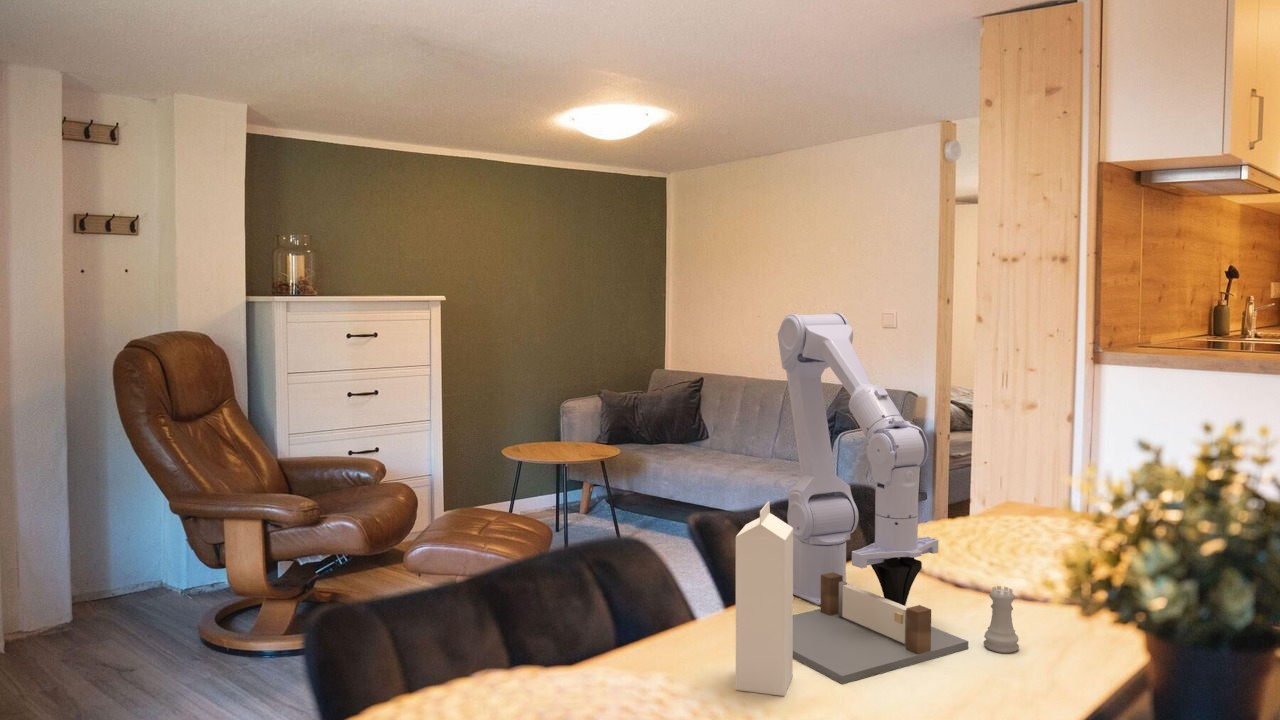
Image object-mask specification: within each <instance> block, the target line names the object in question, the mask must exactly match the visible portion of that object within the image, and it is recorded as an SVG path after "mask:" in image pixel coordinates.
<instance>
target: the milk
mask: <svg viewBox="0 0 1280 720" xmlns="http://www.w3.org/2000/svg"><path fill="white" fill-rule="evenodd" d="M770 502H771V501H769V500H768V501H767V502H766V503H765V504H764V506H763V507H762V509H760V510H759V517H758V518H756V519H754V520H752V521H750V522H748V523H746V524H745V525H744V526H743V528H741V530H740V531H739V532H738V533H737V535H736V536H735V690H736V691H741V692H749V693H757V694H765V695H774V696H779V697H780V696H782V697H785V696H786V693H787V692H788V689H789V686H790V683H791V681H792V679H793V675H794V674H793V672H794V671H793V665H794V664H793V662H794V660H793V659H794V658H793V615H794V594H793V536H794V535H793V528H792V527H791V526H789V525H788V523H786V522H785V521H783V520H782V519H780V518H779V517H777V516H775V515H774V514H773V513H771V512H770V510H771V508H770V506H771V504H770Z"/></svg>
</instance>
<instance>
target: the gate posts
mask: <svg viewBox="0 0 1280 720" xmlns="http://www.w3.org/2000/svg"><path fill="white" fill-rule="evenodd" d="M842 581H843V576H842V575H839V574H837V573H834V572H832V573H827V574H823V575H821V605H820V609H821V612H822V613H824V614H826V615H829V616H832V615H836V614H838V609H839V582H842ZM931 627H932V609H931V608H928V607H926V606H924V605H920V604H918V605H915V606H910V607H909V608H906V650H908V651H910V652H913V653H915V654H921V653H925V652H928V651H931Z"/></svg>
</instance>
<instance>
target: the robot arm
mask: <svg viewBox="0 0 1280 720" xmlns="http://www.w3.org/2000/svg"><path fill="white" fill-rule="evenodd" d="M849 322H850V321H849V320H848V319H847V317H846V316H845V314H843V313H840V312H834V313H825V314H824V313H822V314H821V313H820V314H819V313H818V314H816V313H815V314H796V313H789V314H787V315H786V316H784V318H783V320H782V322H781V324H780V327H779V330H778V332H777V339H778V342H777V343H778V348H779V354H780V362H781V367H782V369H783V370H785V372H786V379H787V380H786V381H787V385H788V392H789V393H788V394H789V399H790V400H789V401H790V406H791V413H792V419H793V421H792V422H793V428H794V434H795V441H796V448H797V455H798V463H799V468H800V469H799V470H800V477H801V478H800V479H799V481H797V482H796V484H795V485H794V486H793V487H792V488H791V489H790V490H789V491H788V493H787V499H788V508H787V515H786V516H787V524H788V525H789V526H791V527H792V528H793V596H797V597H799V598H801V599H803V600H806V601H808V602H810V603H812V604H815V605H818V606H821V575H823V574H827V573H832V572H834V573H837V574H839V575H842V576H843V582H847V541H850V540H851V534H852V533H854V532H855V530H856V529H857V528H858V527H857V526H858V523H859V510H858V507H857V505H856V503H855V501H854V498H853V495H852V491H851V485H850V484H849V483H847V482H846V481H844V480H842V478H840V477H839V476H838V475H836V471H835V464H834V457H833V450H832V443H831V438H830V431H829V423H828V417H827V412H826V411H827V410H826V404H825V397H824V390H823V385H822V375H823V373H824V372H825V370H826V369H828V368H830V369H831V370H832V372H833V373H834V375H835V376H836V378H837V380H839V381H840V383H841V384H842V386H843V387H844V388H845V390H846V391H847V393H848V394H849V395H850V399H849V402H848V409H849V411H850V412H851V414H852V415H853V418H854V419H855V421H856V423H857V425H858V426H859V428H860V430H861V431H862V433H863V434H864V436H865V438H866V440H867V441H868V444H867V445H868V446H867V445H866V449H865V450H866V456H867V459H868V461H869V463H870V467H871V477H872V481H873V482H875V491H874V492H875V493H874V495H875V496H874V497H875V500H874V501H875V503H874V504H875V508H874V509H875V511H874V542H873V543H870V544H869V545H866V546H864V547H862V548H859V549H856V550H852V551H851V566H854V567H856V568H859V569H866V568H867V567H868V566H871V568H872V570H873V572H874V574H875V575H876V578H877V580H878V582H879V584H880V587H881V590H882V594H883V598H886V599H888V600H891V601H894V602H896V603H899V604H901V605H904V606H907V601H908V597H909V594H910V590H911V588H912V586H913V584H914V582H915V580H916V578H917V575H918V574H919V573H920V571H921V570H922V567H923V565H922V564H923V562H922V561H921V560H919V559H916V558H918V557H922V555H924V554H938V553H939V539H937V538H934V537H930V536H925V537H924V536H923V537H919V536H918V532H919V531H918V530H919V525H918V524H919V474H920V473H919V472H920V469H919V468H920V467H922V466H924V464H925V463H926V461H927V460H928V457H929V443H928V440H927V439H928V438H927V437H926V435H925V433H924V430H923V429H922V428H921V427H920V426H917V425H914V424H912V423H911V422H910V421H908V420H905V419H904V417H903V416H902V415H901V413H900V411H899V410H898V408H897V406H896V405H895V403H894V401H893V400H892V399H891V398H890V396H889V393H888V392H887V390H886V389H885V387H883V386H882V385H878V384H873V383H872V381H871V379H870V378H869V376H868V373H867V371H866V369H865V368H864V366H863V364H862V362H861V359H860V358H859V356H858V354H857V352H856V350H855V347H854V346H853V340H854V330H853V328H852V327H851V325H850V323H849ZM823 494H825V495H827V496H820V497H812V496H814V495H823ZM811 497H812V498H811Z"/></svg>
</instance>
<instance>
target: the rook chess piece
mask: <svg viewBox="0 0 1280 720" xmlns="http://www.w3.org/2000/svg"><path fill="white" fill-rule="evenodd" d="M988 596H989V598H990V599H991V600H992V604H991V605H990V607H991V610H992V611H991V612H992V613H991V618H990V619H991V621H990V624H989V626H988V627H987V630H986V631H985V632H984V635H983V637H984V638H985V640H984V641H983V644H984V647H985V648H986V649H987V650H989V651H991V652H995V653H1000V654H1013V653H1015V652H1016V651H1017V650H1018V649H1020V648H1019V647H1020V645H1019V644H1018V642H1019V635H1017V634H1016V629H1014V626H1013V618H1012V611H1013V610H1014V607H1013V606H1012V603H1013V601H1015V599H1016V596H1015V594H1014V593H1013V589H1012V588H1009V587H1007V586H1004V588H1003V589H1002V586H1001V585H999V586H998V585H997V586H993V587H992V589H991V592H990V593H989V594H988Z"/></svg>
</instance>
